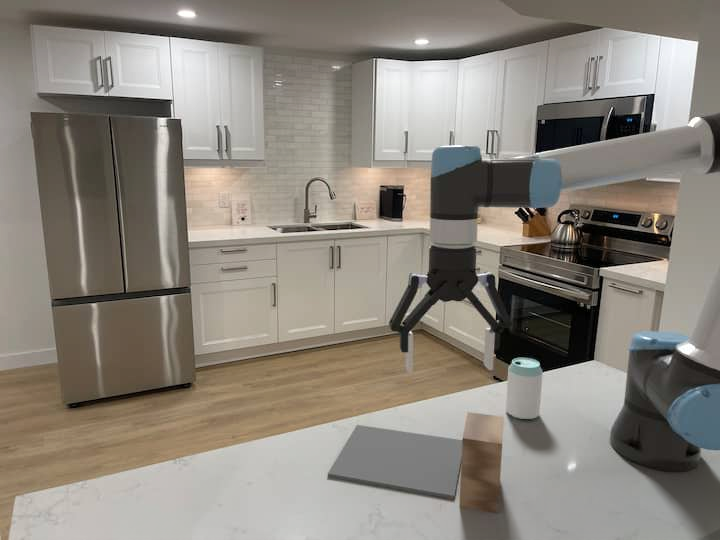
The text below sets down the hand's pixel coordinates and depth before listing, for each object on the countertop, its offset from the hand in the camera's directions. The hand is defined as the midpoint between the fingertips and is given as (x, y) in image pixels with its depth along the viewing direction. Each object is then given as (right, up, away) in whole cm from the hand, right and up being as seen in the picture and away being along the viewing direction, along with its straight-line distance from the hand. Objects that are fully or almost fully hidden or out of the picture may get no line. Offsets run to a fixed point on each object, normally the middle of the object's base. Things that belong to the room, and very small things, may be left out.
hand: (448, 368), depth 89 cm
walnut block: (+5, -21, -1) cm, 21 cm away
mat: (-8, -18, +9) cm, 22 cm away
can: (+20, -15, +26) cm, 37 cm away
